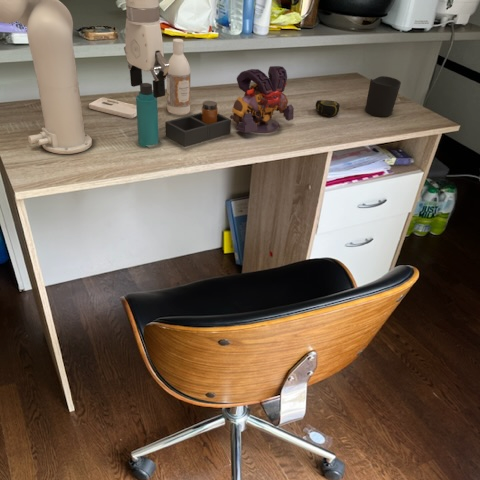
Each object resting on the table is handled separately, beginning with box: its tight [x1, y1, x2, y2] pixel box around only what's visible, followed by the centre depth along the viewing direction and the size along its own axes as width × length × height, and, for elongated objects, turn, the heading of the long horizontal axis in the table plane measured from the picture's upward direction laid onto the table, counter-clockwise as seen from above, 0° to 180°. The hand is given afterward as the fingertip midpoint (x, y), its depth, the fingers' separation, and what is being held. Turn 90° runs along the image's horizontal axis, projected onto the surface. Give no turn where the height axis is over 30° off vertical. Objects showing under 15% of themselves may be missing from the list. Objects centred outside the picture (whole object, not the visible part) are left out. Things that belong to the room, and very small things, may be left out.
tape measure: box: [315, 99, 341, 117], centre depth 167 cm, size 7×7×4 cm
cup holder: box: [164, 112, 232, 148], centre depth 146 cm, size 16×9×5 cm, turn 133°
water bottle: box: [135, 82, 160, 149], centre depth 137 cm, size 5×5×15 cm
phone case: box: [88, 96, 137, 119], centre depth 158 cm, size 7×1×15 cm
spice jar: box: [201, 100, 219, 125], centre depth 147 cm, size 4×4×8 cm
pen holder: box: [364, 75, 402, 118], centre depth 169 cm, size 9×9×10 cm
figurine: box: [229, 65, 295, 134], centre depth 150 cm, size 20×14×17 cm
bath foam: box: [166, 38, 191, 115], centre depth 154 cm, size 7×7×20 cm
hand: (147, 90), depth 133 cm, fingers open, 9 cm apart
